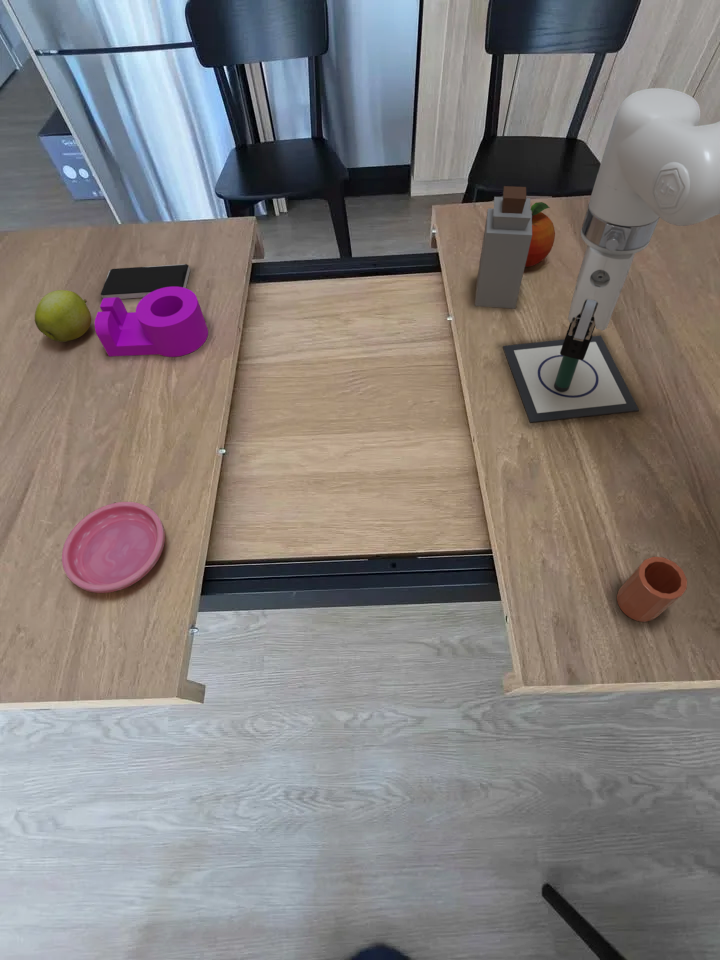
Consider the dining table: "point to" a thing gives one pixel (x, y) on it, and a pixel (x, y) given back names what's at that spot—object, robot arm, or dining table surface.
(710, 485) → the dining table surface
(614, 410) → the target board
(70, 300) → the apple
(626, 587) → the pen pot
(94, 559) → the saucer
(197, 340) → the tape dispenser
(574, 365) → the marker
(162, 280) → the smartphone
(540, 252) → the fruit
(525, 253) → the perfume bottle
